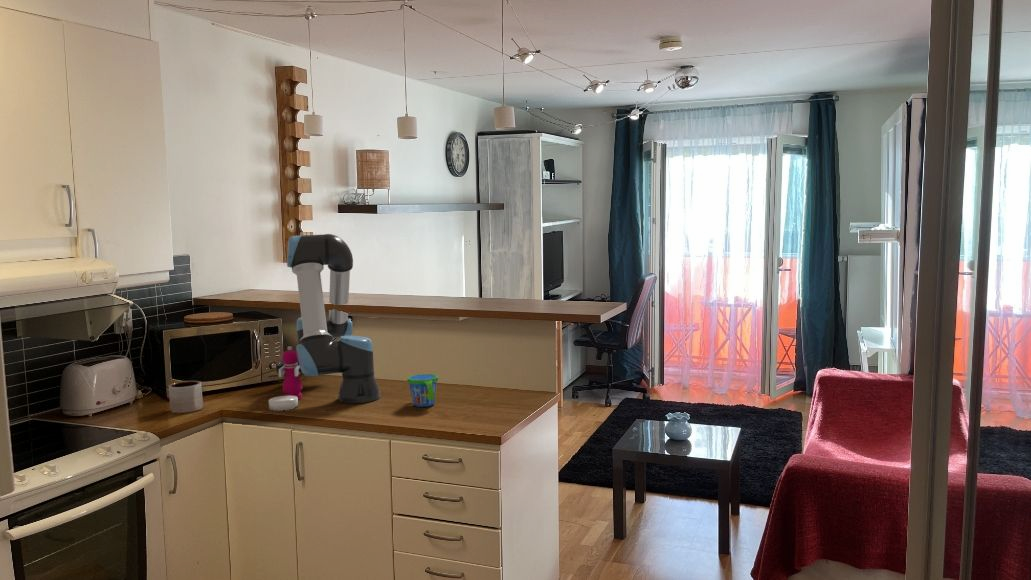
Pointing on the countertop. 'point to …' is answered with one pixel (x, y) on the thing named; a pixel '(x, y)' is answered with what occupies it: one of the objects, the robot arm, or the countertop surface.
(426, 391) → the snack cup
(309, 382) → the countertop surface
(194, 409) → the planter
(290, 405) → the ceramic stand
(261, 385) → the countertop surface
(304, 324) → the robot arm
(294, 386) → the pepper mill
